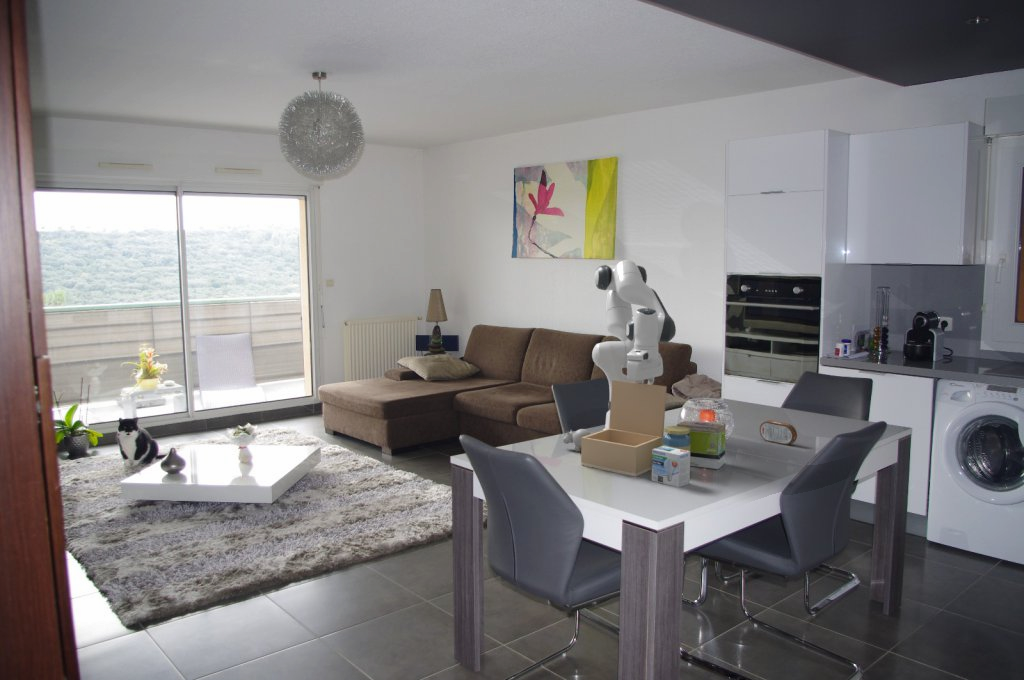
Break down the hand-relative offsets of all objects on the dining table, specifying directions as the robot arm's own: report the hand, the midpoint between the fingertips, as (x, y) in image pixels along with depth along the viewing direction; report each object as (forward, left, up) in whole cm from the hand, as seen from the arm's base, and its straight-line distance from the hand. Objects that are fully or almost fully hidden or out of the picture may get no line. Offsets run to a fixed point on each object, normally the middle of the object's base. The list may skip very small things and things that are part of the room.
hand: (645, 390), depth 270 cm
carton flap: (+6, 0, -6) cm, 8 cm away
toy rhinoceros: (+9, -24, -25) cm, 36 cm away
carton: (+16, 0, -25) cm, 29 cm away
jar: (+11, +19, -25) cm, 33 cm away
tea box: (-3, +21, -25) cm, 32 cm away
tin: (-50, +31, -25) cm, 64 cm away
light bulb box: (+23, +23, -25) cm, 41 cm away
